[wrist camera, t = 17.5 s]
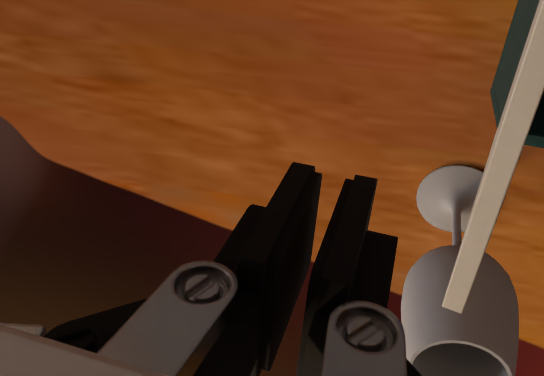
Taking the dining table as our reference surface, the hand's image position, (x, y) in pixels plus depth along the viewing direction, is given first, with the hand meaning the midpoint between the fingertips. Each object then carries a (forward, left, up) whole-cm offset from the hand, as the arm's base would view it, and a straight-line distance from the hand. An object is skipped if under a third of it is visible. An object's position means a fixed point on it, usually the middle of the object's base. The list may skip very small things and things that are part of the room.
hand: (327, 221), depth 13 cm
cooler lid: (+4, +5, -14) cm, 16 cm away
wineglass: (+18, -6, -33) cm, 38 cm away
